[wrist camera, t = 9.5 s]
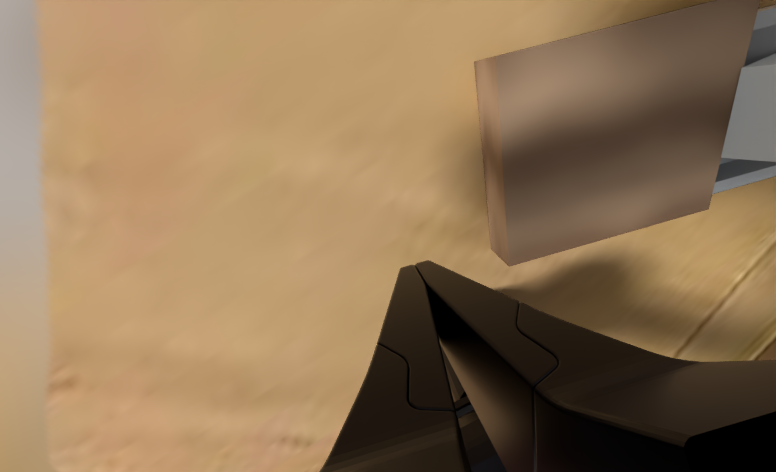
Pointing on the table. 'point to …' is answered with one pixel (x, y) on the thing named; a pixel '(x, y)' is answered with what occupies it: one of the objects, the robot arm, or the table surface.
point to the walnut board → (608, 127)
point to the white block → (753, 114)
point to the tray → (768, 37)
